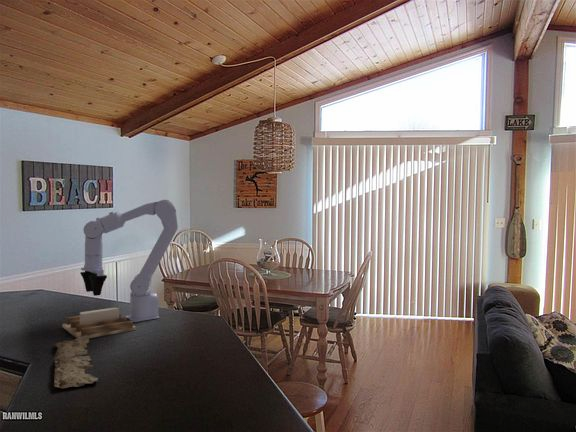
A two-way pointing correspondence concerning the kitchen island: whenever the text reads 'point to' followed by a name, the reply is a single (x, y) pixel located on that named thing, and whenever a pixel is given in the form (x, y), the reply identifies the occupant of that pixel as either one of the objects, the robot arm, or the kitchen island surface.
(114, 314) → the clay bar
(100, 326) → the drying rack
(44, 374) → the kitchen island surface
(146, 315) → the robot arm
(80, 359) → the rock fragment
